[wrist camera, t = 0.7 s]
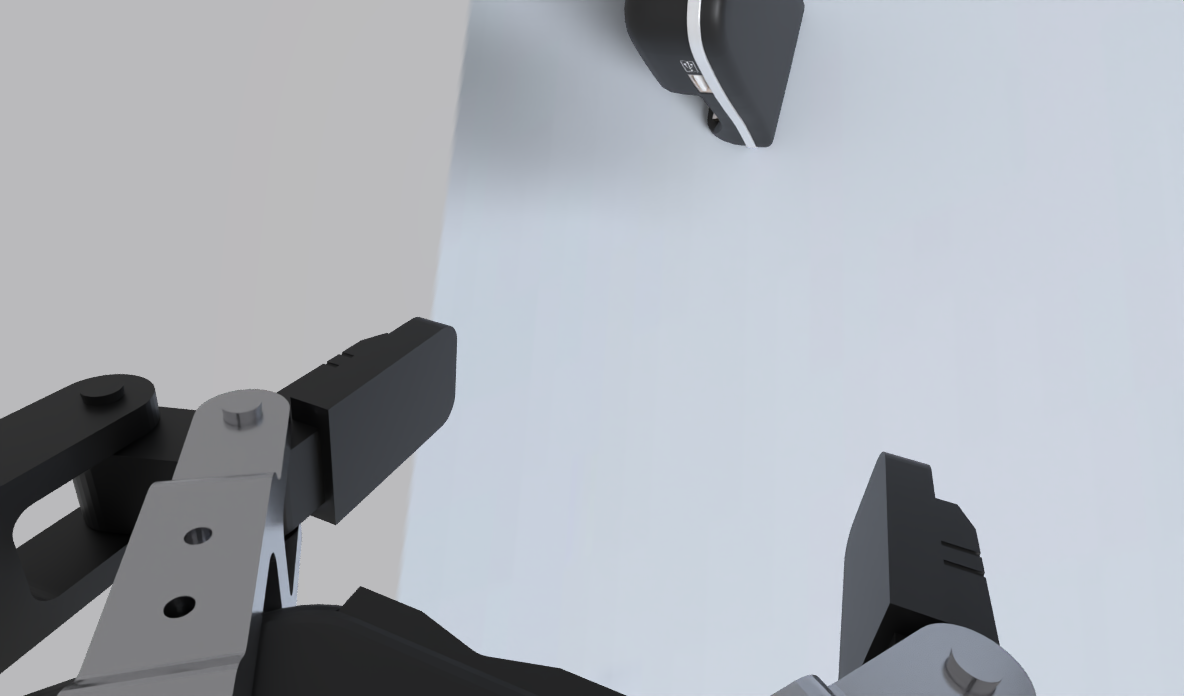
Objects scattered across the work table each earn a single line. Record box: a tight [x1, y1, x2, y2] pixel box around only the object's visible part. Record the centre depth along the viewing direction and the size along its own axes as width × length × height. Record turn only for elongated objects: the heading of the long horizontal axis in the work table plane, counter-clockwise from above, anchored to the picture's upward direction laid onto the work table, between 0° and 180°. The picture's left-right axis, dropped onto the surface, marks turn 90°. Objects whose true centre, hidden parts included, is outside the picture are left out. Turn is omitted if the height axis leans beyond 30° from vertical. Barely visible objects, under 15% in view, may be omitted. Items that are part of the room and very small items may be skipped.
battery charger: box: [624, 0, 804, 149], centre depth 26 cm, size 7×4×11 cm, turn 166°
